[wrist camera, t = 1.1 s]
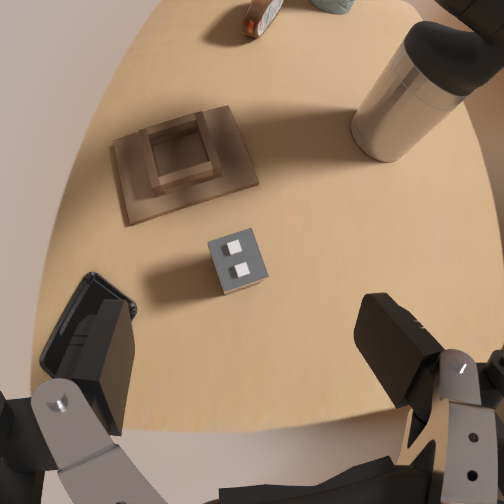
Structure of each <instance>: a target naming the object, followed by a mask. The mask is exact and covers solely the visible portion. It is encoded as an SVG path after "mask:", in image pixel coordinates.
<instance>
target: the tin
mask: <svg viewBox="0 0 504 504" xmlns="http://www.w3.org/2000/svg"><path fill="white" fill-rule="evenodd" d="M283 3H284V0H252V2H251V4H250V5H249V7H248V9H247V12H246V14H245V17H244V20H243V24H242V34H244V35H245V34H246V35H249V36H252V37H255V38H259V37H260V36H261V35H262V34H263V33H264V31H265V30H266V29H267V28H268V26H269V25H270V24H271V22H272V21H273V20H274V18H275V17H276V16H277V14H278V13H279V11H280V9H281V7H282V5H283Z"/></svg>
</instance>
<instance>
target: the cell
mask: <svg viewBox="0 0 504 504" xmlns="http://www.w3.org/2000/svg"><path fill="white" fill-rule="evenodd" d="M207 244H208V247H209V250H210V253H211V256H212V260H213V263H214V266H215V269H216V272H217V275H218V278H219V281H220V284H221V287H222V289H223V292H224V295H228V294H231V293H234V292H236V291H239V290H242V289H245V288H248V287H251V286H254V285H257V284H259V283H260V282H262V281H263V280H265V279H267V278H268V277H269V276H268V273H267V270H266V267H265V264H264V262H263V259H262V256H261V253H260V250H259V247H258V245H257V242H256V239H255V236H254V233H253V231H252V228H249V229H246V230H243V231H240V232H237V233H234V234H231V235H228V236H225V237H221V238H218V239H215V240H212V241H209V242H208V243H207Z"/></svg>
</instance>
